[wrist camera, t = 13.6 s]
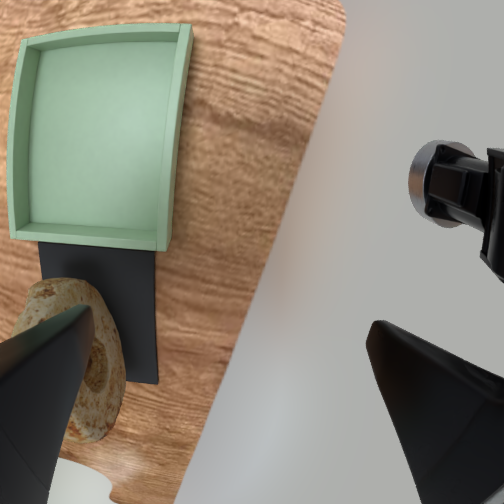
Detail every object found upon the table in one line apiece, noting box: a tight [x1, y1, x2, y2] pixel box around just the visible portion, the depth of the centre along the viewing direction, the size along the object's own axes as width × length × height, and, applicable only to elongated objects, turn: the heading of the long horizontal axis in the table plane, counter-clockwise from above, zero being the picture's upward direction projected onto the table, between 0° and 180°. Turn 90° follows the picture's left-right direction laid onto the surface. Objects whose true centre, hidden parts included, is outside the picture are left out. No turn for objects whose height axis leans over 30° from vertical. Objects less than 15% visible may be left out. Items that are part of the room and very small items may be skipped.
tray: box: [7, 23, 194, 252], centre depth 16 cm, size 11×13×2 cm
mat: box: [38, 241, 158, 385], centre depth 21 cm, size 9×12×1 cm
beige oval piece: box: [11, 278, 126, 443], centre depth 16 cm, size 10×4×10 cm, turn 9°
